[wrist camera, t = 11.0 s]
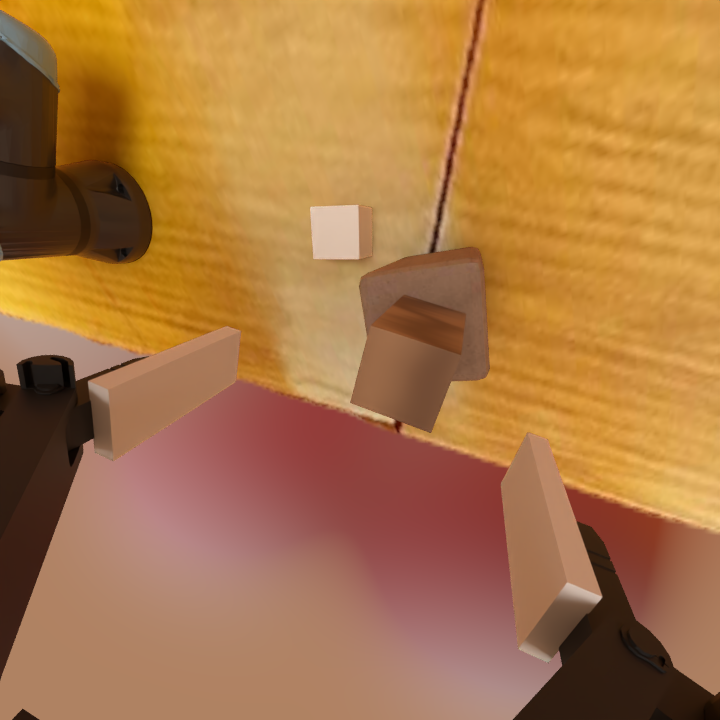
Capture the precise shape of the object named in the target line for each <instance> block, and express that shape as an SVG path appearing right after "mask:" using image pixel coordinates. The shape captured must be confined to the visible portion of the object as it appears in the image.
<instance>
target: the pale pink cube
mask: <svg viewBox="0 0 720 720" xmlns="http://www.w3.org/2000/svg"><path fill="white" fill-rule="evenodd" d="M310 211H311V228H312V244H313V259H362V258H366V257H370V256H372V208H371V207H367V206H362V205H341V206H317V207H310Z"/></svg>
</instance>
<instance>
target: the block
mask: <svg viewBox="0 0 720 720" xmlns="http://www.w3.org/2000/svg"><path fill="white" fill-rule="evenodd" d="M359 288H360V294H361V301H362V307H363V313H364V319H365V325H366V331H367V337H368V333H369V329H370V326H371V325H372V324H373V323H374V322H375V321H376V320H377V319H378V318H379V317H380V316H381V315H382V314H384V313H385V312H386V311H387V310H388V309H389V308H390V307H391V306H392V305H393V304H394V303H395V302H397V301H398V300H399V299H400V298H401V297H402V296H403V295H407V296H410V297H414V298H417V299H420V300H424V301H427V302H430V303H433V304H437V305H440V306H443V307H446V308H450V309H453V310H456V311H459V312H463V313H466V318H465V327H464V335H463V344H462V353H461V357H460V360H459V362H458V365H457V367H456V370H455V373H454V375H453V378H452V380H451V381H470V380H480V379H483V378H485V377H486V376H487V374H488V371H489V369H490V365H489V348H488V331H487V313H486V296H485V279H484V267H483V263H482V258H481V254H480V252H479V250H478V248H474V247H468V248H461V249H455V250H449V251H442V252H436V253H430V254H423V255H417V256H411V257H406V258H403V259H401V260H398V261H396V262H393V263H391V264H389V265H386V266H384V267H381V268H379V269H377V270H374V271H372V272H369V273H367V274H366V275H364V276H363V277H361V280H360V285H359Z"/></svg>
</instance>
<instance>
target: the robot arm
mask: <svg viewBox="0 0 720 720" xmlns="http://www.w3.org/2000/svg"><path fill="white" fill-rule="evenodd" d="M59 92H60V89H59V85H58V83H57V59H56V55H55V53H54V51H53V49H52V47H51V45H50V44H49V43H48V42H47V40H46V39H45V38H44V37H42V36H41V35H40V34H39V33H37V32H36V31H34V30H33V29H31V28H30V27H28V26H27V25H25V24H23V23H22V22H20V21H19V20H17V19H15V18H14V17H12V16H10V15H9V14H7V13H5V12H4V11H2V10H0V261H1V260H15V259H28V258H42V257H56V256H69V255H77V256H81V257H85V258H89V259H93V260H98V261H102V262H106V263H112V264H118V263H129V262H133V261H135V260H137V259H139V258H140V257H141V256H142V255H143V254H144V253H145V251H146V249H147V247H148V245H149V242H150V238H151V230H152V224H151V215H150V210H149V207H148V204H147V201H146V198H145V196H144V194H143V192H142V190H141V189H140V187H139V185H138V184H137V183H136V181H135V180H134V179H133V178H132V177H131V176H130V175H129V174H128V173H127V172H126V171H125V170H123V169H122V168H120V167H119V166H117V165H115V164H112V163H108V162H102V161H96V160H86V161H81V162H76V163H71V164H66V165H61V166H57V167H55V165H56V139H57V110H58V93H59ZM240 336H241V331H239V330H237V329H234V328H231V327H228V326H226V327H223V328H220V329H218V330H215V331H213V332H210V333H208V334H205V335H203V336H200V337H198V338H195V339H193V340H190V341H188V342H185V343H183V344H180V345H178V346H175V347H172V348H170V349H167V350H165V351H162V352H160V353H157V354H155V355H152V356H148V357H142V358H137V359H132V360H130V361H127V362H125V363H122V364H121V365H117V366H114V367H111V368H110V369H106V370H104V371H101V372H98V373H96V374H93V375H91V376H88V377H85V378H83V379H80V380H78V381H76V379H75V371H74V362H73V361H72V360H71V359H70V358H67V357H64V356H57V355H41V356H36V357H31V358H28V359H25V360H22V361H21V362H19V363H18V364H17V369H18V375H19V380H20V386H19V385H13V384H7V383H5V378H4V373H3V371H2V370H0V679H1V676H2V673H3V670H4V668H5V665H6V662H7V660H8V657H9V654H10V651H11V649H12V646H13V643H14V641H15V638H16V635H17V632H18V630H19V627H20V624H21V621H22V618H23V616H24V613H25V611H26V608H27V605H28V602H29V600H30V597H31V594H32V592H33V589H34V586H35V583H36V580H37V578H38V575H39V572H40V569H41V567H42V564H43V562H44V559H45V556H46V553H47V551H48V548H49V545H50V542H51V540H52V537H53V534H54V532H55V529H56V526H57V523H58V521H59V518H60V515H61V512H62V510H63V507H64V504H65V502H66V499H67V496H68V493H69V491H70V487H71V485H72V482H73V479H74V477H75V474H76V471H77V469H78V466H79V463H80V461H81V458H82V455H83V444H84V443H86V442H87V441H89V440H91V439H94V449H95V453H97V454H99V455H101V456H103V457H105V458H107V459H110V460H112V461H115V460H116V459H118V458H119V457H121V456H122V455H124V454H125V453H127V452H128V451H130V450H132V449H133V448H135V447H136V446H138V445H139V444H141V443H142V442H144V441H145V440H147V439H149V438H150V437H152V436H153V435H155V434H156V433H158V432H159V431H161V430H162V429H164V428H166V427H167V426H169V425H170V424H172V423H173V422H175V421H176V420H178V419H180V418H181V417H183V416H184V415H186V414H187V413H189V412H190V411H192V410H193V409H195V408H196V407H198V406H200V405H201V404H203V403H204V402H206V401H207V400H209V399H210V398H212V397H214V396H215V395H217V394H218V393H220V392H221V391H223V390H224V389H226V388H227V387H229V386H231V385H232V384H234V383H235V382H236V376H237V366H238V356H239V346H240ZM501 490H502V500H503V510H504V519H505V529H506V538H507V547H508V557H509V567H510V576H511V586H512V594H513V604H514V614H515V624H516V633H517V643H518V649H519V650H521V651H523V652H526V653H528V654H530V655H532V656H534V657H536V658H538V659H541V660H543V661H545V662H547V663H549V662H550V660H551V659H552V658H553V657H554V655H555V654H556V653H557V652H558V651H559V652H560V656H561V662H562V667H561V668H560V669H559V670H558V671H557V672H556V673H555V674H554V675H553V677H552V678H551V679H550V680H549V681H548V682H547V683H546V684H545V685H544V687H542V689H541V690H540V691H539V692H538V693H537V694H536V695H535V696H534V697H533V698H532V700H531V701H530V702H529V703H528V704H527V705H526V706H525V707H524V708H523V709H522V710H521V711H520V712H519V714H518V715H517V716H516V717H515V718H514V719H513V720H720V692H719V693H718V694H716V695H715V696H714V695H712V694H711V693H710V692H708V691H707V690H705V689H704V688H702V687H701V686H699V685H698V684H697V683H695V682H694V681H692V680H691V679H689V678H688V677H687V676H685V675H684V674H682V673H681V672H679V671H678V670H676V669H675V668H674V667H673V664H672V661H671V658H670V656H669V654H668V653H667V651H666V650H665V648H664V647H663V645H662V644H661V642H660V641H659V640H658V639H657V638H656V637H655V636H654V635H653V634H652V633H651V632H650V631H649V630H648V629H647V628H645V627H644V626H643V625H642V624H640V623H639V622H638V621H636V619H635V617H634V614H633V612H632V609H631V607H630V605H629V602H628V600H627V597H626V595H625V593H624V590H623V588H622V585H621V583H620V580H619V578H618V576H617V575H616V574H615V572H616V571H615V568H614V566H613V564H612V562H611V561H610V556H609V554H608V552H607V549H606V547H605V544H604V542H603V541H602V540H601V539H600V537H599V536H598V535H597V533H596V532H595V531H594V530H593V528H592V527H590V526H588V525H585V524H582V523H580V522H577V521H576V520H575V517H574V514H573V511H572V508H571V505H570V502H569V499H568V497H567V494H566V491H565V488H564V485H563V482H562V479H561V477H560V474H559V471H558V468H557V465H556V462H555V459H554V456H553V454H552V451H551V448H550V445H549V442H548V439H545V438H543V437H540V436H537V435H534V434H531V433H527V435H526V437H525V438H524V440H523V442H522V444H521V446H520V448H519V450H518V452H517V454H516V456H515V458H514V460H513V461H512V463H511V465H510V467H509V469H508V471H507V473H506V475H505V477H504V479H503V481H502V482H501ZM12 720H39V719H37V718H36V717H34V716H33V715H31V714H30V713H28V712H27V711H25V710H24V709H22V710H21V711H20V712H19V713H18V714H17V715H16V716H15V717H14V718H13V719H12Z"/></svg>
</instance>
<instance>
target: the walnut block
mask: <svg viewBox="0 0 720 720" xmlns="http://www.w3.org/2000/svg"><path fill="white" fill-rule="evenodd" d="M465 318H466V313H463V312H459V311H456V310H453V309H450V308H446V307H443V306H440V305H437V304H433V303H430V302H427V301H424V300H420V299H417V298H414V297H410V296H407V295H403V296H402V297H401V298H400V299H399V300H398V301H397V302H395V303H394V304H393V305H392V306H391V307H390V308H389V309H388V310H387V311H386V312H385V313H384V314H382V315H381V316H380V317H379V318H378V319H377V320H376V321H375V322H374V323H373V324H372V325H371V326H370V329H369V333H368V337H367V341H366V345H365V349H364V352H363V356H362V360H361V364H360V368H359V371H358V375H357V379H356V383H355V387H354V390H353V394H352V398H351V402H350V403H352V404H355V405H358V406H360V407H363V408H366V409H368V410H371V411H374V412H376V413H379V414H382V415H384V416H387V417H390V418H392V419H395V420H397V421H400V422H403V423H405V424H408V425H411V426H413V427H416V428H419V429H421V430H424V431H427V432H429V433H431V432H432V429H433V426H434V424H435V421H436V419H437V416H438V414H439V411H440V408H441V406H442V403H443V401H444V398H445V396H446V393H447V390H448V388H449V385H450V383H451V380H452V378H453V375H454V373H455V370H456V367H457V365H458V362H459V360H460V357H461V353H462V344H463V335H464V327H465Z"/></svg>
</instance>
